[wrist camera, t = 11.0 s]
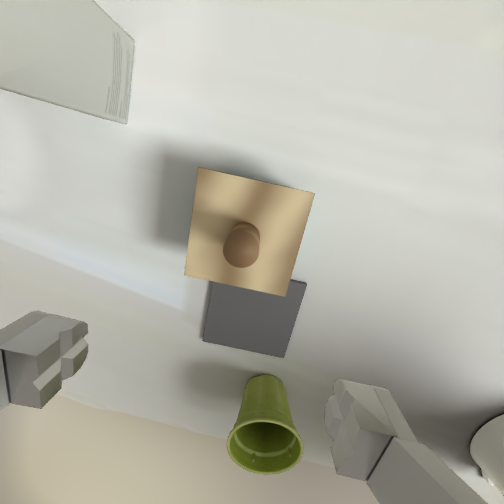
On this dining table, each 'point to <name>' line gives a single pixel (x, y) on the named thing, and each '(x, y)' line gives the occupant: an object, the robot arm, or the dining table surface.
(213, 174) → the lid
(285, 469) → the plant pot
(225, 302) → the mat
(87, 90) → the skincare box
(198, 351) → the dining table surface
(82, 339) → the robot arm
